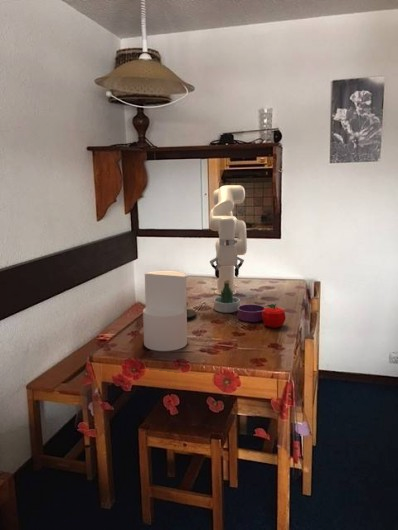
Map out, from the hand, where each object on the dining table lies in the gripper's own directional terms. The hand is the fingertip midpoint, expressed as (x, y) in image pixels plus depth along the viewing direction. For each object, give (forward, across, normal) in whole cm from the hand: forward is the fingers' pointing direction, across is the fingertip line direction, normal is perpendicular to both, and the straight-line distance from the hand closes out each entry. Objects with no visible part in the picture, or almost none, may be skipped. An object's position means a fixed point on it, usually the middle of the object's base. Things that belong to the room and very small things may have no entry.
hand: (226, 277), depth 226 cm
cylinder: (+18, +37, +39) cm, 56 cm away
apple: (+17, -13, +29) cm, 36 cm away
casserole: (+17, +29, +4) cm, 34 cm away
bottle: (+16, 0, 0) cm, 16 cm away
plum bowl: (+17, -7, +16) cm, 25 cm away
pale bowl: (+17, 0, 0) cm, 17 cm away
